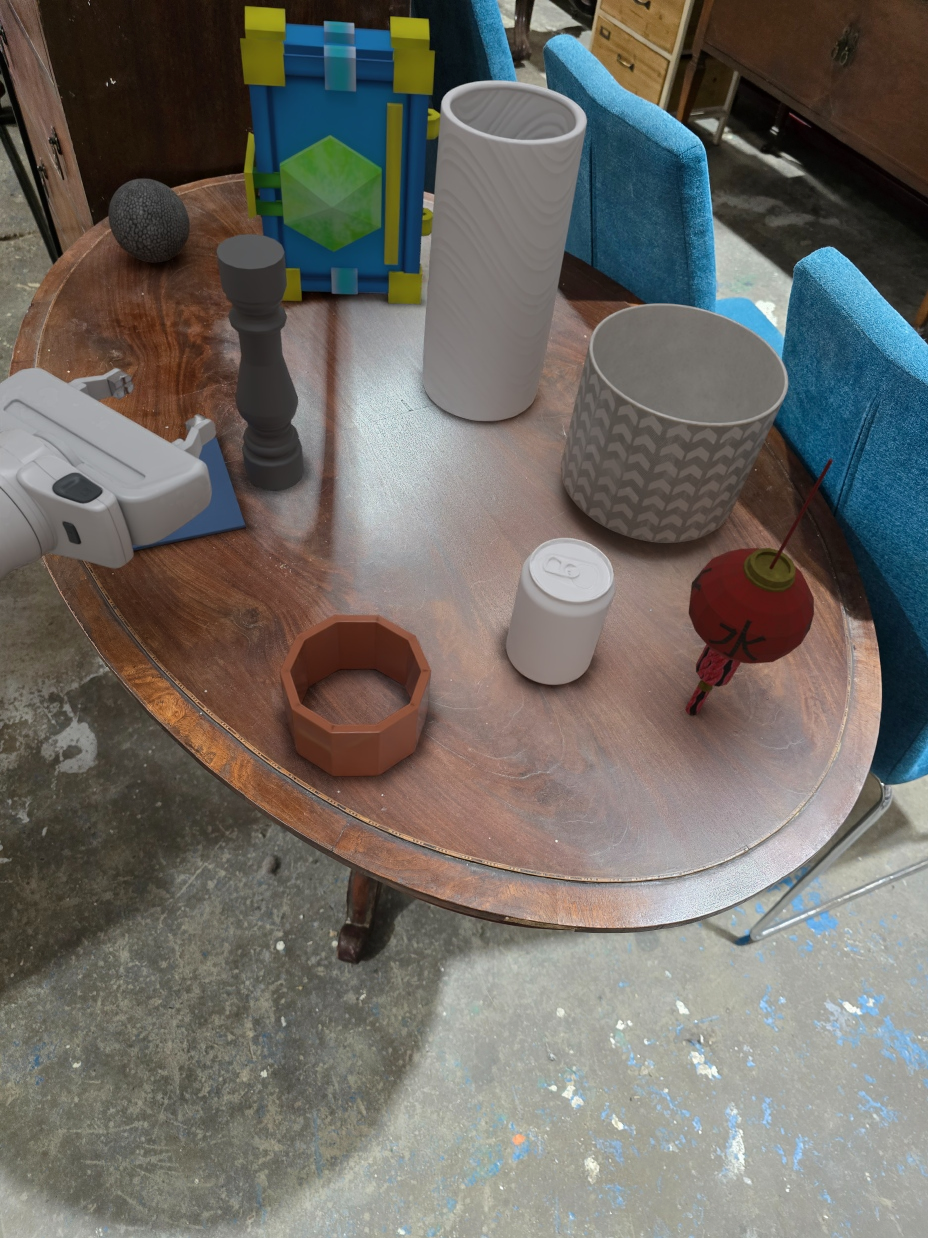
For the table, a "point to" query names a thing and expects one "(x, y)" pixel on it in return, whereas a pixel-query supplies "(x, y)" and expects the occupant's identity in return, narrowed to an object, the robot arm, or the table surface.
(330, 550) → the table surface
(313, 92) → the decorative book
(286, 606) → the table surface
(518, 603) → the beverage can
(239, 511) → the blue cloth
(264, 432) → the candle holder
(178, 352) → the table surface
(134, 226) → the decorative ball
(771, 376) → the planter
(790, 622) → the lantern
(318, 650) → the terracotta pot
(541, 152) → the vase
